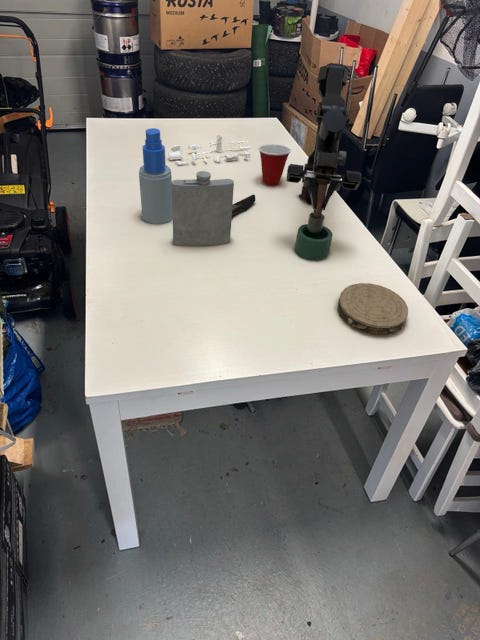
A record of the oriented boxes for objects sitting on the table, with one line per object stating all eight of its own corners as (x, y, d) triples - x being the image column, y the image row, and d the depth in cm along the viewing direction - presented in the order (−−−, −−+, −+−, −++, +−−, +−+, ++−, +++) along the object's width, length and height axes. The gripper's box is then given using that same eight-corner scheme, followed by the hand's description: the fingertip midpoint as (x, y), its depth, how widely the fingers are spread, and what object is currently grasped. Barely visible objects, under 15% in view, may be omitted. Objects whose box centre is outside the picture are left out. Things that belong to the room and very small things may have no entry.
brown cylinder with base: (311, 223, 126) (320, 178, 117) (324, 228, 124) (334, 183, 116) (304, 229, 123) (312, 183, 115) (317, 234, 122) (327, 188, 113)
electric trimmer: (258, 205, 147) (259, 195, 145) (227, 221, 137) (228, 212, 135) (248, 201, 148) (249, 192, 146) (218, 217, 139) (218, 207, 137)
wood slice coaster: (416, 332, 105) (421, 323, 103) (352, 339, 102) (355, 329, 100) (386, 290, 117) (389, 280, 115) (327, 295, 113) (329, 285, 111)
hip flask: (229, 237, 131) (233, 169, 117) (231, 244, 128) (236, 176, 115) (172, 239, 128) (170, 170, 114) (174, 247, 125) (172, 177, 111)
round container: (315, 239, 133) (318, 220, 129) (335, 256, 127) (339, 237, 123) (288, 246, 129) (291, 227, 125) (307, 263, 123) (311, 244, 119)
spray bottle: (153, 206, 141) (148, 122, 125) (178, 214, 138) (176, 129, 122) (136, 218, 135) (128, 131, 118) (162, 227, 132) (158, 139, 116)
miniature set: (247, 145, 181) (258, 162, 174) (159, 157, 172) (167, 175, 165) (248, 130, 176) (259, 147, 169) (158, 141, 167) (166, 159, 160)
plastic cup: (276, 173, 166) (281, 140, 158) (291, 186, 158) (297, 152, 151) (249, 177, 162) (252, 143, 154) (264, 190, 155) (268, 155, 147)
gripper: (293, 131, 112) (284, 194, 111) (370, 140, 111) (362, 203, 110) (290, 151, 123) (282, 208, 122) (360, 160, 122) (352, 217, 121)
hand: (318, 209), depth 118 cm, fingers closed on brown cylinder with base, 2 cm apart
